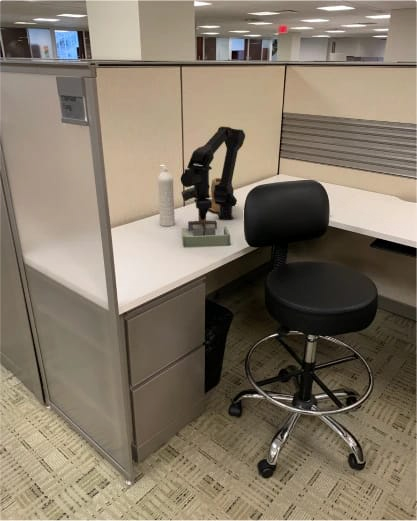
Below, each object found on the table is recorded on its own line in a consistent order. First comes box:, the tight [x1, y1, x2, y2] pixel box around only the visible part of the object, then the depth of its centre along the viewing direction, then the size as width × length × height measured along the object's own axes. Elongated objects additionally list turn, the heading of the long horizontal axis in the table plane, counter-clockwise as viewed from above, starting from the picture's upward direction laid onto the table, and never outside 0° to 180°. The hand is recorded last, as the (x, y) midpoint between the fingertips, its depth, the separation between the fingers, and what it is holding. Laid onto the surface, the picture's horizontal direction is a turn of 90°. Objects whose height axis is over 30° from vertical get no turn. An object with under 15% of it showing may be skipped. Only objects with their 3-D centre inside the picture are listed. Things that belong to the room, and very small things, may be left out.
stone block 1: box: [192, 224, 204, 236], centre depth 168 cm, size 4×4×4 cm
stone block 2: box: [204, 224, 216, 236], centre depth 169 cm, size 4×4×4 cm
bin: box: [181, 226, 231, 248], centre depth 162 cm, size 10×18×4 cm, turn 96°
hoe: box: [187, 209, 218, 231], centre depth 174 cm, size 3×12×9 cm, turn 96°
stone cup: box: [208, 177, 221, 213], centre depth 198 cm, size 15×12×15 cm
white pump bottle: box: [157, 164, 176, 227], centre depth 177 cm, size 9×6×25 cm
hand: (202, 218), depth 174 cm, fingers closed on hoe, 3 cm apart
